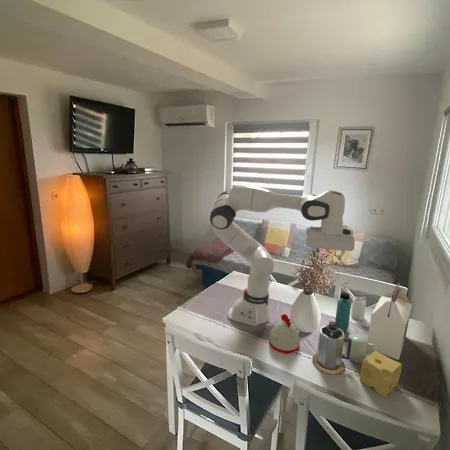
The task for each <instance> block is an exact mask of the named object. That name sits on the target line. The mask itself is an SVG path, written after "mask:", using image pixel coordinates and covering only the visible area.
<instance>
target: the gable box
mask: <svg viewBox="0 0 450 450" xmlns="http://www.w3.org/2000/svg"><path fill="white" fill-rule="evenodd" d="M403 287H404V286H403V285H401V287H400V282H397V284H396V286H394V287H392V288H391V289H389V290H387V292H385V293H384V294H382V296H380V297H379V300H378V302H377V304H376V305H375V307H374V309H373V311H372V312H371V315H370V322H369V327H368V333H367V340H368V343H371V344H373V345H374V347H373V352H374V351H377V352H379V353H381V354H383V355H384V356H386V357H388V358H391V359H393V360H394V359H395V360H396V361H398V360H400V357H401V355H402V351H403V347H404V344H405V340H406V338H407V332H408V327H409V322H410V317H411V312H412V307H413V304H412V303H411V301H410V299H409V298H408V296H407V294H406V293H405V291H404V289H403Z"/></svg>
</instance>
